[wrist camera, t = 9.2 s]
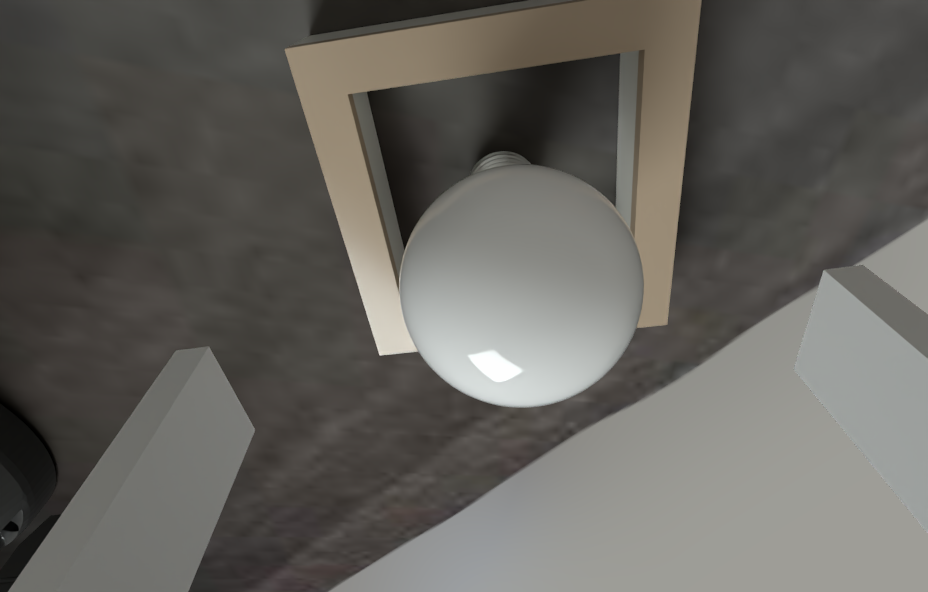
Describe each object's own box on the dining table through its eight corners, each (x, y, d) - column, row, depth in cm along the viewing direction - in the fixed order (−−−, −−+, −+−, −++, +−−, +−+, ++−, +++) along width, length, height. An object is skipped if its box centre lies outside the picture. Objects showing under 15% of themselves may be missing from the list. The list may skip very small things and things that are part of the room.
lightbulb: (388, 182, 20) (325, 371, 11) (501, 54, 18) (540, 164, 8) (500, 274, 23) (525, 492, 13) (615, 174, 20) (741, 360, 11)
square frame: (388, 316, 24) (379, 355, 22) (308, 35, 17) (284, 48, 15) (646, 286, 23) (667, 324, 21) (669, -23, 16) (703, -19, 14)
